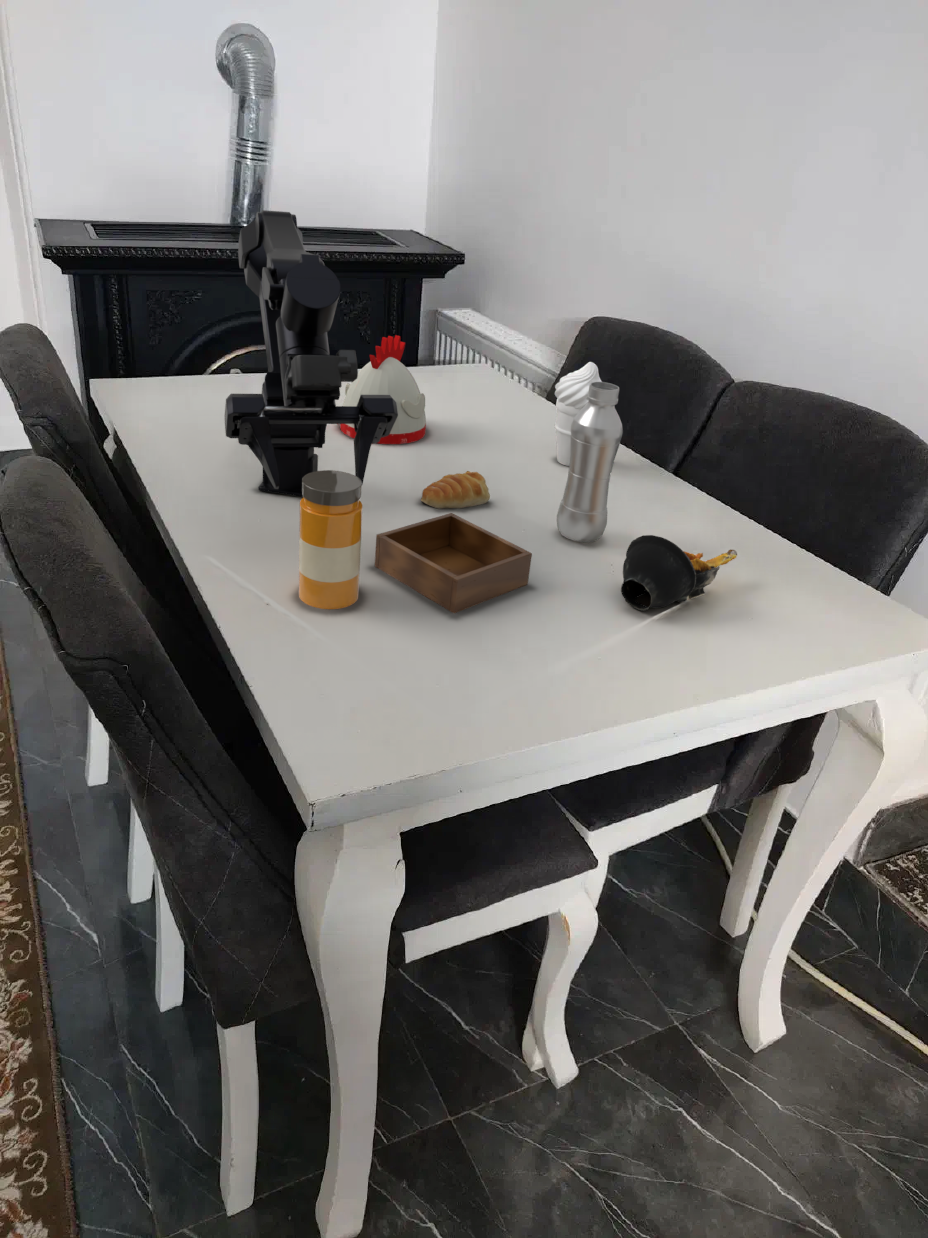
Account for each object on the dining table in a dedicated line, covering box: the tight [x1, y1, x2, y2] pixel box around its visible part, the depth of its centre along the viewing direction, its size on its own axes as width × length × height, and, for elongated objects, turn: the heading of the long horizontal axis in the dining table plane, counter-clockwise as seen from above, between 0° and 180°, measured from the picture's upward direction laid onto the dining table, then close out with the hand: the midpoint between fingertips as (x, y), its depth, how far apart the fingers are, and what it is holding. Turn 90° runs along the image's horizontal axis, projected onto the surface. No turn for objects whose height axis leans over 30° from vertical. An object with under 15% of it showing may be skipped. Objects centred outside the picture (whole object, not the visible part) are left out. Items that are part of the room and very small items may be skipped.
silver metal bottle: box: [556, 381, 624, 543], centre depth 116 cm, size 6×7×20 cm
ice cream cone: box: [554, 361, 603, 467], centre depth 142 cm, size 8×8×16 cm
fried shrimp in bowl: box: [620, 534, 738, 612], centre depth 107 cm, size 9×11×18 cm
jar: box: [298, 469, 364, 610], centre depth 97 cm, size 6×6×14 cm
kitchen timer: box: [339, 334, 427, 445], centre depth 147 cm, size 14×14×15 cm
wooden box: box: [374, 512, 533, 614], centre depth 106 cm, size 13×12×4 cm
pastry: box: [420, 470, 491, 509], centre depth 126 cm, size 9×7×4 cm
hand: (319, 486), depth 101 cm, fingers open, 9 cm apart
